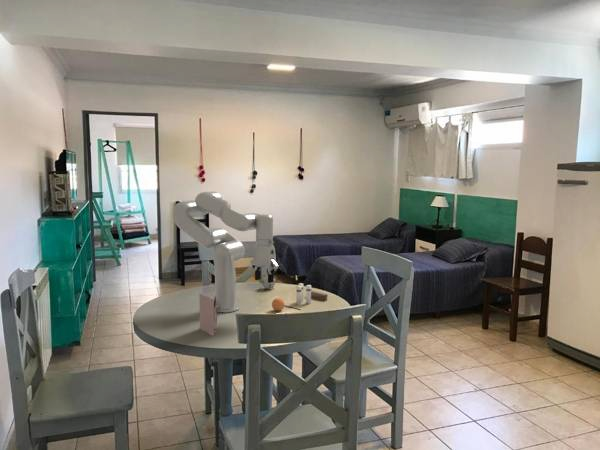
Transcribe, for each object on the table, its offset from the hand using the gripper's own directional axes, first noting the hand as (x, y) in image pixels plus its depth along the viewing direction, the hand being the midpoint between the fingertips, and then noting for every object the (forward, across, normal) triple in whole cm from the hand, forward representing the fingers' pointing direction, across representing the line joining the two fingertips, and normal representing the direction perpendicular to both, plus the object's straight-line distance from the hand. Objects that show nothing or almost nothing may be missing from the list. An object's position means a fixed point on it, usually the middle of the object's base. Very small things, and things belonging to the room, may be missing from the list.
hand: (264, 280), depth 216 cm
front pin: (+16, 0, -24) cm, 29 cm away
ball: (+13, 0, -10) cm, 16 cm away
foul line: (+16, 0, -18) cm, 24 cm away
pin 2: (+16, -3, -29) cm, 33 cm away
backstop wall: (+16, 0, -39) cm, 42 cm away
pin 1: (+16, +2, -29) cm, 33 cm away
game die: (+16, +32, -36) cm, 51 cm away
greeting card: (+16, +1, +32) cm, 35 cm away
